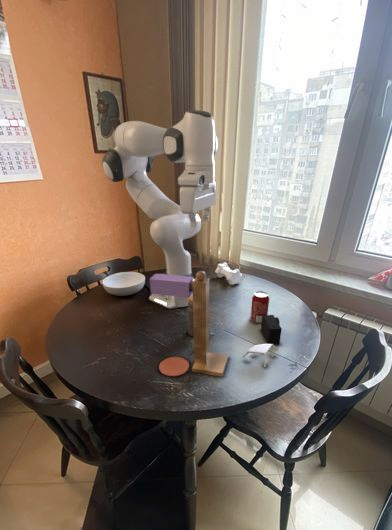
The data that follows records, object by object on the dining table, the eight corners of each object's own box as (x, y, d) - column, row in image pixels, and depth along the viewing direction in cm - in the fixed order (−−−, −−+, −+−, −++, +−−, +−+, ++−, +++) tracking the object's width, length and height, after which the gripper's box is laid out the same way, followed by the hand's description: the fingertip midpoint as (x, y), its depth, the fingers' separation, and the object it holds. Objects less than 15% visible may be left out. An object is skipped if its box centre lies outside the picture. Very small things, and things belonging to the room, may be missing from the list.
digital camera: (282, 344, 110) (285, 328, 107) (268, 345, 110) (270, 329, 106) (274, 329, 119) (276, 314, 115) (260, 330, 119) (262, 315, 115)
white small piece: (260, 373, 97) (261, 360, 94) (241, 361, 102) (242, 349, 100) (283, 358, 103) (285, 346, 101) (264, 347, 109) (265, 336, 106)
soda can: (266, 325, 122) (269, 298, 116) (249, 323, 124) (252, 297, 117) (266, 317, 128) (269, 291, 122) (250, 315, 129) (252, 290, 123)
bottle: (192, 337, 115) (191, 302, 107) (185, 330, 120) (184, 296, 112) (205, 333, 117) (205, 299, 109) (198, 327, 122) (198, 293, 114)
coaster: (153, 370, 99) (152, 369, 99) (170, 354, 106) (170, 353, 106) (178, 380, 95) (178, 379, 94) (194, 363, 102) (194, 362, 102)
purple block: (150, 293, 90) (149, 279, 88) (156, 287, 94) (155, 273, 91) (189, 297, 87) (188, 282, 85) (193, 291, 91) (193, 276, 88)
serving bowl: (121, 281, 165) (120, 269, 161) (154, 287, 157) (153, 275, 153) (95, 296, 149) (92, 283, 145) (130, 304, 141) (127, 290, 137)
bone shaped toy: (242, 283, 159) (243, 269, 154) (228, 287, 156) (229, 272, 151) (227, 274, 170) (227, 260, 166) (214, 277, 167) (214, 263, 163)
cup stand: (167, 367, 100) (159, 274, 83) (177, 350, 108) (171, 262, 91) (222, 376, 96) (225, 280, 78) (228, 358, 104) (232, 267, 86)
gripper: (203, 173, 100) (203, 217, 107) (174, 179, 84) (177, 229, 92) (221, 173, 98) (220, 218, 105) (195, 179, 82) (196, 231, 89)
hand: (200, 223), depth 98 cm, fingers open, 8 cm apart
